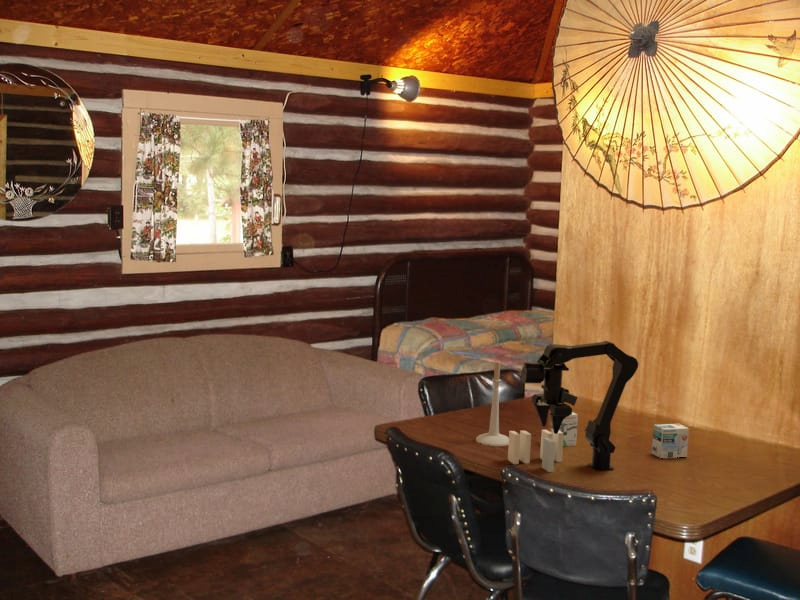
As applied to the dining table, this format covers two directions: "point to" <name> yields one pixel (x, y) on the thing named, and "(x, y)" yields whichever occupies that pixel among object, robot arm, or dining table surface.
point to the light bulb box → (670, 440)
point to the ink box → (569, 429)
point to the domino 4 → (548, 454)
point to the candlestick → (494, 417)
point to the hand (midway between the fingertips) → (549, 429)
